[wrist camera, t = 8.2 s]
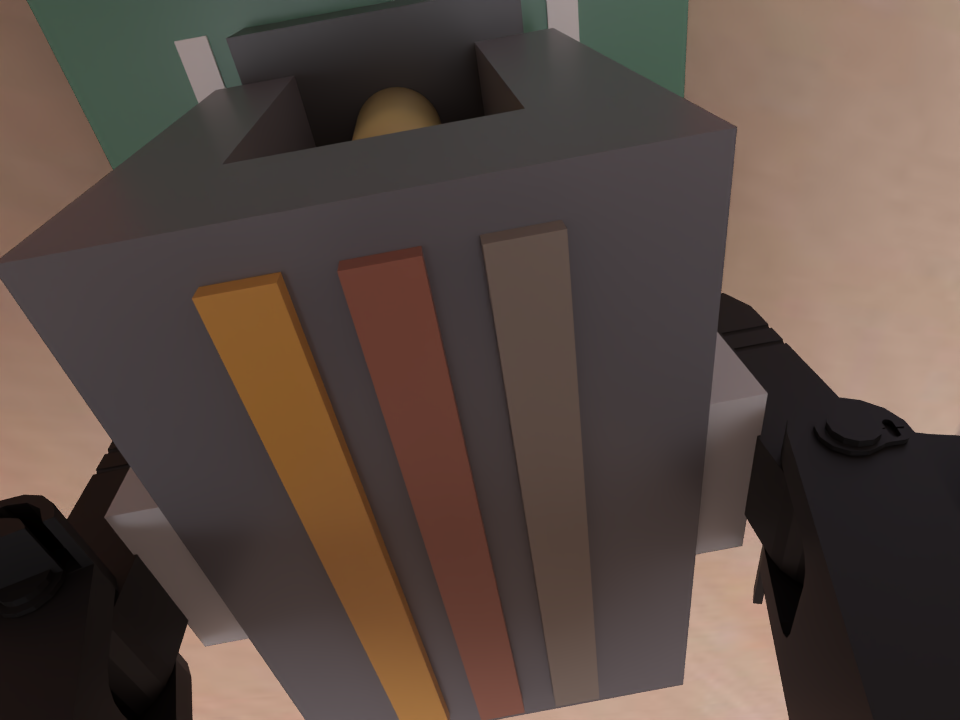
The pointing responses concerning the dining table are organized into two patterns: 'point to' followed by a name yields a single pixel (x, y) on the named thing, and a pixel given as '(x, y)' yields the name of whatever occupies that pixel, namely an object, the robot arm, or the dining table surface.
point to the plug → (417, 377)
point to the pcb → (326, 56)
